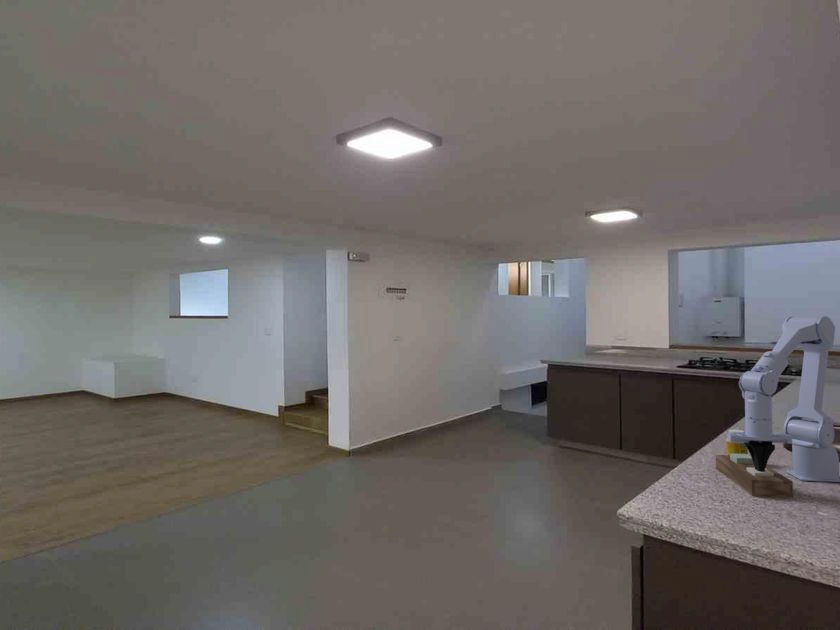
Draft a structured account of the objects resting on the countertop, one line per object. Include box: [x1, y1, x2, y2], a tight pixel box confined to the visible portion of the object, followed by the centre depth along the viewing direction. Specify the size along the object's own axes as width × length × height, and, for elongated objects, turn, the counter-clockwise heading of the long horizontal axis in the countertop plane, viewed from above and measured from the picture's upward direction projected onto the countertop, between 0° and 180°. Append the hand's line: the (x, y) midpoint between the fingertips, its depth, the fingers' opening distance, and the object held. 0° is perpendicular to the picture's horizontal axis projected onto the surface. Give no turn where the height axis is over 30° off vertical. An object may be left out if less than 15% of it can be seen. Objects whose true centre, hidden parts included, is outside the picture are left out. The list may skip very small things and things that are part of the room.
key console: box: [715, 454, 794, 499], centre depth 130 cm, size 9×22×4 cm, turn 169°
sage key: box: [730, 453, 754, 464], centre depth 135 cm, size 4×4×3 cm
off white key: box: [746, 467, 774, 476], centre depth 125 cm, size 4×4×3 cm
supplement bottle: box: [725, 429, 749, 455], centre depth 147 cm, size 5×5×10 cm
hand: (759, 470), depth 125 cm, fingers closed, pressing on off white key
